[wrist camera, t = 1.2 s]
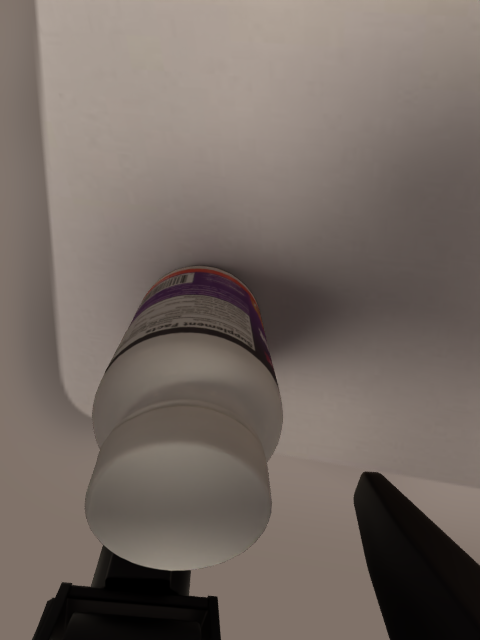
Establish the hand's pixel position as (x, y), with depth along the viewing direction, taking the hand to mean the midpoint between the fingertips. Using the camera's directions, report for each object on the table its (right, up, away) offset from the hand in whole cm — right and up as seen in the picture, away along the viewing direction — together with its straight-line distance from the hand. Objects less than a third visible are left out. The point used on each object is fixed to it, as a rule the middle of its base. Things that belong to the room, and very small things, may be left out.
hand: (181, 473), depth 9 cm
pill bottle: (0, +4, +8) cm, 9 cm away
